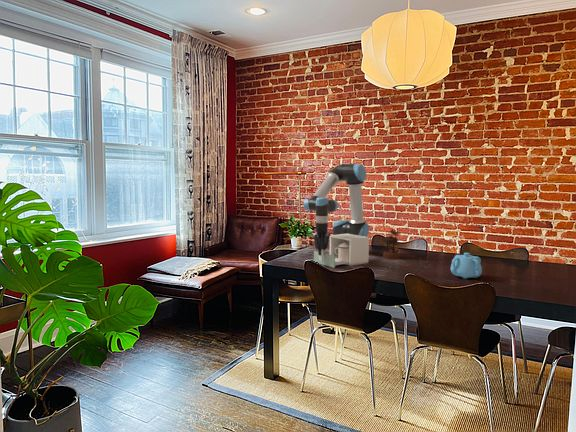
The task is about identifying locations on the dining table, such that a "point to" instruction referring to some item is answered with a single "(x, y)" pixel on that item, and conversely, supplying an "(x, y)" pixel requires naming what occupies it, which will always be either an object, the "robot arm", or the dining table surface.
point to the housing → (352, 247)
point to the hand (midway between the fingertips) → (321, 260)
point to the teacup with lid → (343, 251)
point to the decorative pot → (466, 266)
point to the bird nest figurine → (390, 241)
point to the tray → (329, 260)
